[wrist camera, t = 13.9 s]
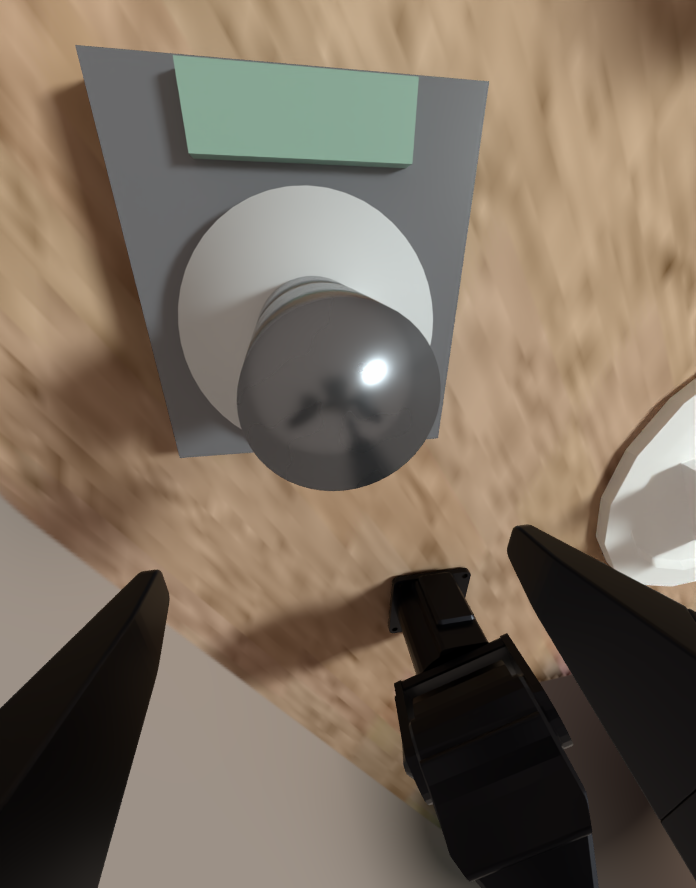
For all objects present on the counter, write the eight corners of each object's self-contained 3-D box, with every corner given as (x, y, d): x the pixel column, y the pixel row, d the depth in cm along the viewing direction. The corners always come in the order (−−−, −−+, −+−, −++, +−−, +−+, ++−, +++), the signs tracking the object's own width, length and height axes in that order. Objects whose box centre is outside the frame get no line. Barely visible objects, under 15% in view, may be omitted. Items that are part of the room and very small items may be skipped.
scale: (425, 423, 22) (444, 446, 20) (188, 440, 20) (174, 468, 17) (464, 101, 15) (504, 69, 12) (102, 72, 13) (58, 27, 10)
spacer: (391, 423, 14) (429, 481, 10) (259, 433, 13) (252, 500, 10) (399, 281, 11) (453, 293, 8) (238, 284, 11) (218, 299, 7)
